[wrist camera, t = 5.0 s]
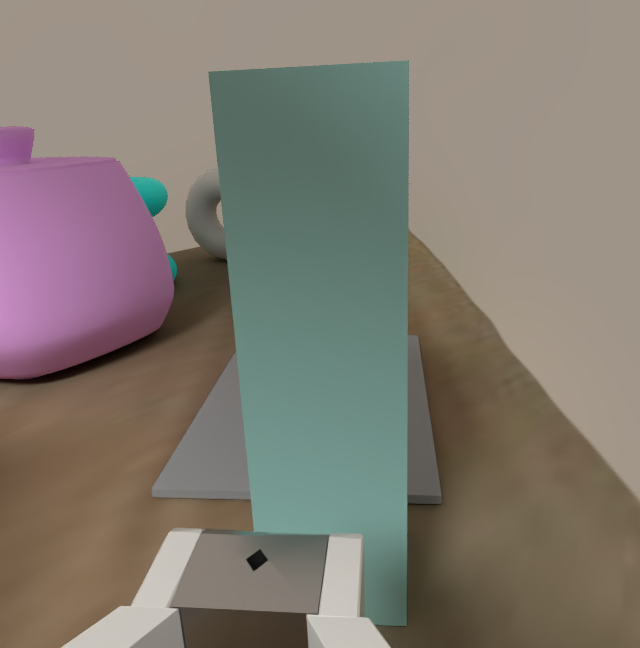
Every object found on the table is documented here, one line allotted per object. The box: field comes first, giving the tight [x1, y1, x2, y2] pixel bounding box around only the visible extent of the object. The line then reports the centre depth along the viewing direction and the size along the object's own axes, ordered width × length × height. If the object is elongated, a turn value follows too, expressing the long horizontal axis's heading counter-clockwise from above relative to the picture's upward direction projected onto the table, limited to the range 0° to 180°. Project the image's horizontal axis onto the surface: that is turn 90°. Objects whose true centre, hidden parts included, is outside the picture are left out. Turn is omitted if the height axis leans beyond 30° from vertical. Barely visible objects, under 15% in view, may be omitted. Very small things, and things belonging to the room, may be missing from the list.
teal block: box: [209, 61, 409, 626], centre depth 18 cm, size 4×4×16 cm
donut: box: [186, 168, 227, 260], centre depth 65 cm, size 10×3×10 cm, turn 67°
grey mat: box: [151, 335, 442, 504], centre depth 33 cm, size 18×12×1 cm, turn 174°
